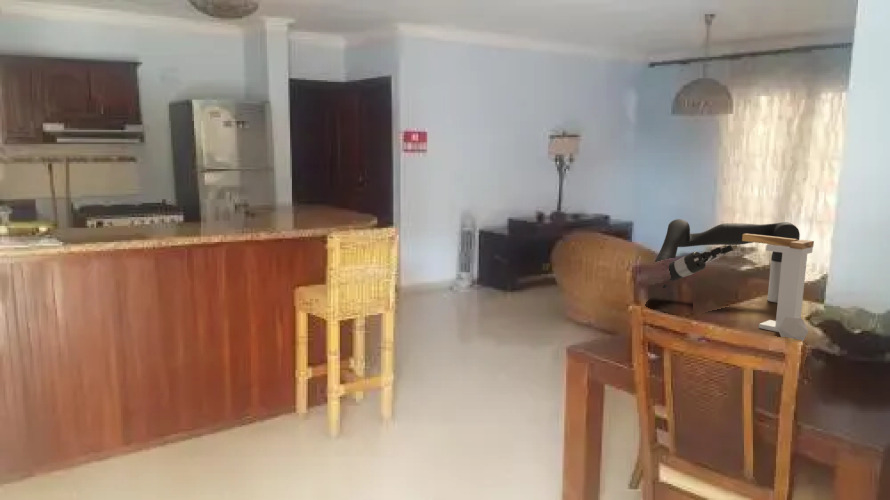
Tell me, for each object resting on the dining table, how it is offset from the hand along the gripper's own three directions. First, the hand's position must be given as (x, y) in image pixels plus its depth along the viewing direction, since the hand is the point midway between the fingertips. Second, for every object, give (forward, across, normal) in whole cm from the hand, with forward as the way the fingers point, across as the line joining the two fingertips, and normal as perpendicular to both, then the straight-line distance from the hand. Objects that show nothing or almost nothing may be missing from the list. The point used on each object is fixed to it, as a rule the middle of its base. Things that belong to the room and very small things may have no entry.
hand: (726, 248), depth 254 cm
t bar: (+18, 0, -6) cm, 19 cm away
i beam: (+6, 0, -34) cm, 34 cm away
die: (+14, +14, -39) cm, 43 cm away
